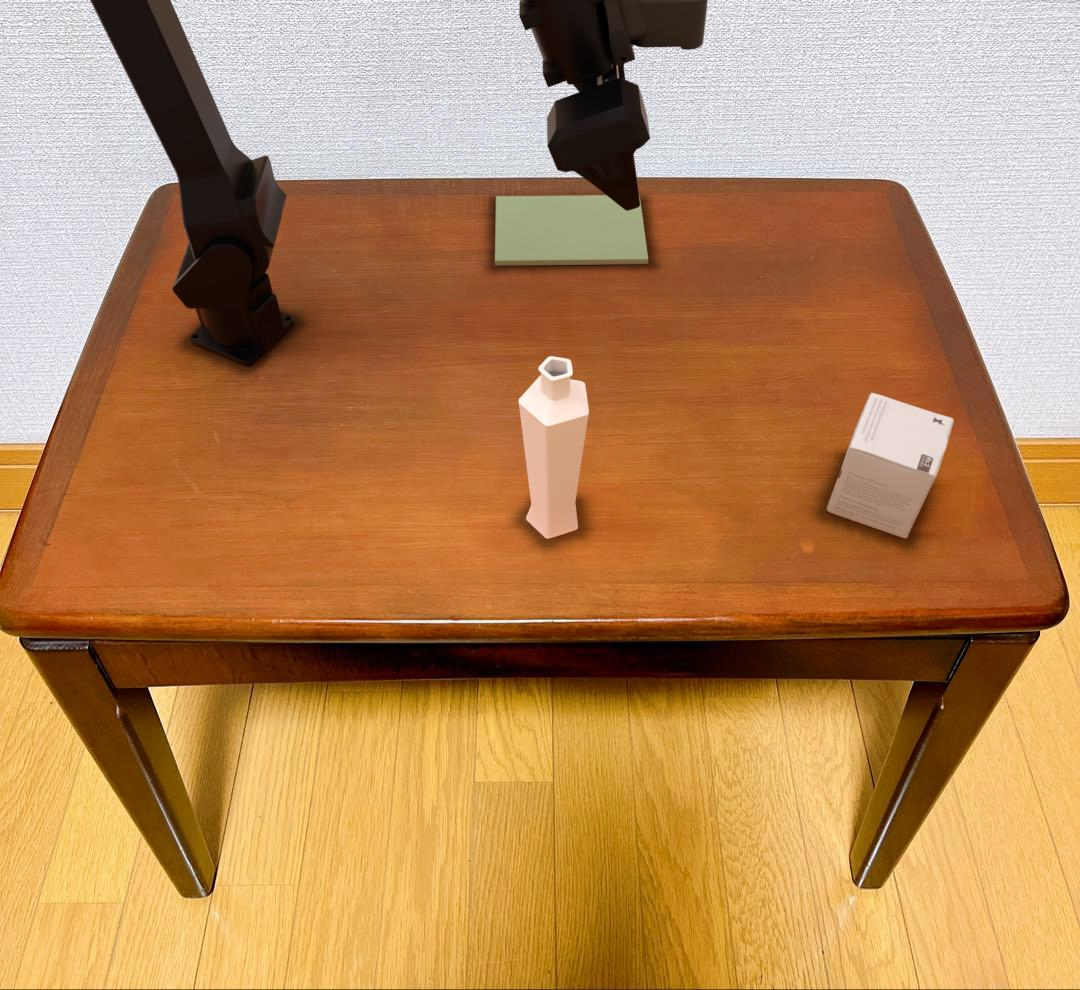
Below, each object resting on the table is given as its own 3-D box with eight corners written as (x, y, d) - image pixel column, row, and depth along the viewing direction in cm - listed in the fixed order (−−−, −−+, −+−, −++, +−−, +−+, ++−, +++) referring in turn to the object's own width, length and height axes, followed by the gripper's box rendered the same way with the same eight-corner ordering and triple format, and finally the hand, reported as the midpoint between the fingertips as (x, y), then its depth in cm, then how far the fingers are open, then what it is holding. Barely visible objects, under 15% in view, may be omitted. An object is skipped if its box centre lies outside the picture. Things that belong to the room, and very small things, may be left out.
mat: (495, 265, 93) (494, 260, 92) (496, 201, 99) (496, 196, 98) (647, 264, 93) (648, 258, 92) (639, 199, 99) (639, 194, 99)
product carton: (845, 457, 78) (869, 389, 72) (925, 483, 76) (956, 415, 70) (824, 513, 74) (848, 446, 69) (907, 542, 73) (938, 475, 67)
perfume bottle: (565, 552, 72) (570, 405, 60) (513, 526, 74) (508, 377, 62) (597, 509, 75) (608, 360, 63) (546, 485, 76) (548, 334, 64)
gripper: (696, -13, 55) (755, 212, 67) (667, -142, 67) (721, 68, 78) (508, 58, 58) (594, 262, 70) (512, -77, 70) (585, 116, 82)
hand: (629, 170), depth 75 cm, fingers open, 9 cm apart
